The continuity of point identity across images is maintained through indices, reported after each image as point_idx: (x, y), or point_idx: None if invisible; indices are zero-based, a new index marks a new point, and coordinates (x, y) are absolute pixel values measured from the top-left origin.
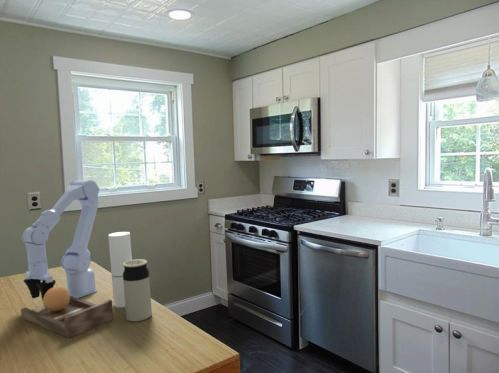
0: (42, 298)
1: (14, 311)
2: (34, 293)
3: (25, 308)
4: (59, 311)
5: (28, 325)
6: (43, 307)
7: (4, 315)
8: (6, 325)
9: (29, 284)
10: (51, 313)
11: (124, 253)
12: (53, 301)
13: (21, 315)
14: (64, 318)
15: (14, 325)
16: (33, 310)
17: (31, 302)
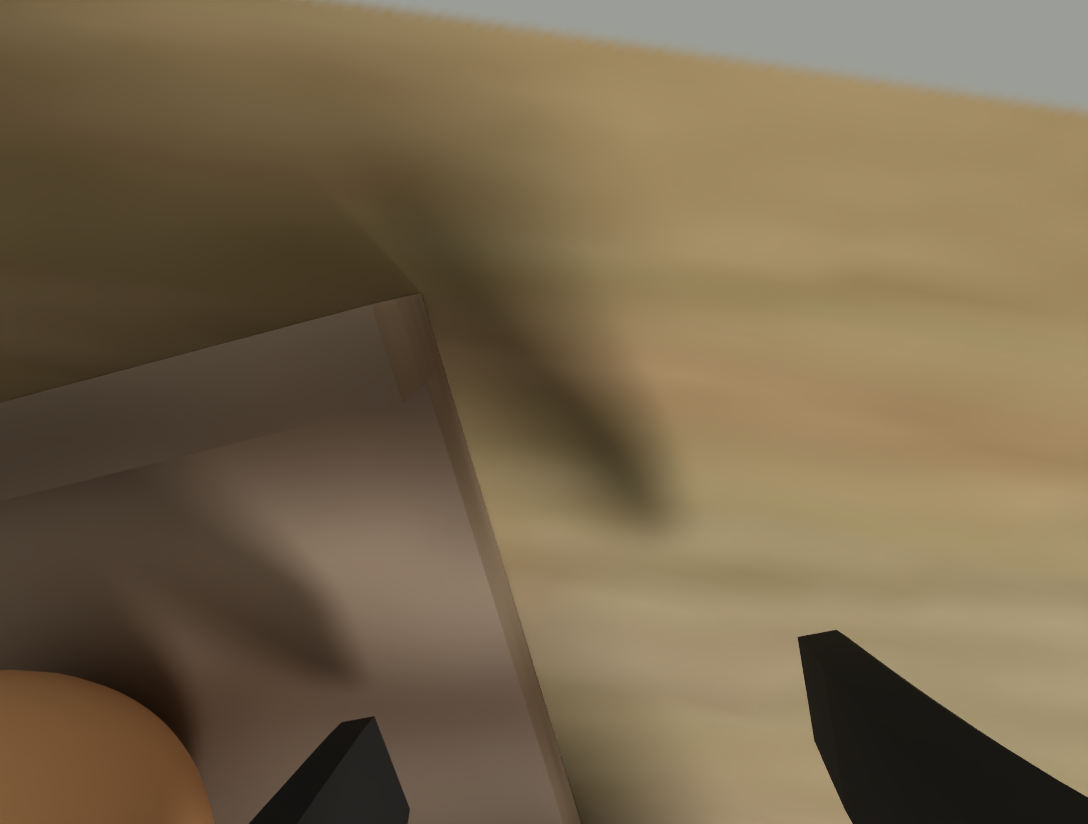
0: (302, 783)
1: (865, 257)
2: (859, 752)
3: (333, 391)
4: None
5: (8, 313)
6: (417, 640)
7: (809, 70)
8: (239, 20)
9: None
10: (43, 658)
11: None
12: None
13: (404, 297)
14: None
15: (147, 136)
16: (395, 494)
17: (1064, 561)
